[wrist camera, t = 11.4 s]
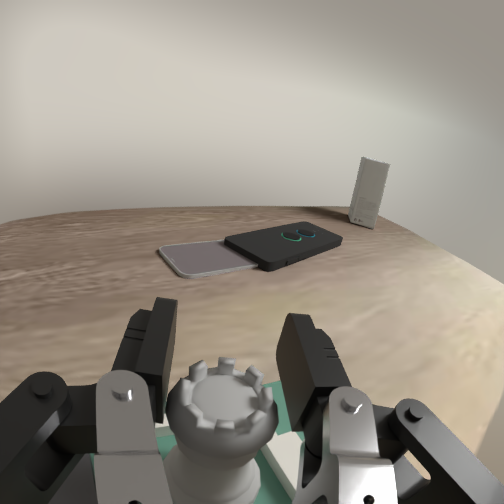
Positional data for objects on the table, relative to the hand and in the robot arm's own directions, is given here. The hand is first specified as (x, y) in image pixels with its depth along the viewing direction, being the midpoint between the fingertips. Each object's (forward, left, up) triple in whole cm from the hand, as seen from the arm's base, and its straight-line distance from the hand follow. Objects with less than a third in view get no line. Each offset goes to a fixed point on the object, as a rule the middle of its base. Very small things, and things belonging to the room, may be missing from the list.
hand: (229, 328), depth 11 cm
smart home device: (+21, +26, -9) cm, 35 cm away
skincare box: (+49, +39, -9) cm, 64 cm away
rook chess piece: (-1, -3, -8) cm, 8 cm away
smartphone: (+10, +23, -10) cm, 27 cm away
